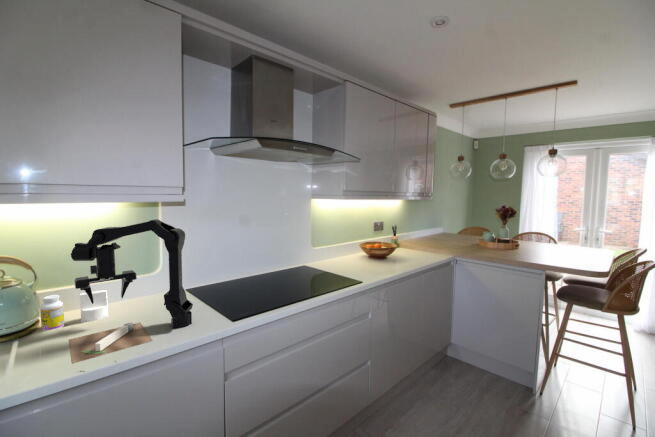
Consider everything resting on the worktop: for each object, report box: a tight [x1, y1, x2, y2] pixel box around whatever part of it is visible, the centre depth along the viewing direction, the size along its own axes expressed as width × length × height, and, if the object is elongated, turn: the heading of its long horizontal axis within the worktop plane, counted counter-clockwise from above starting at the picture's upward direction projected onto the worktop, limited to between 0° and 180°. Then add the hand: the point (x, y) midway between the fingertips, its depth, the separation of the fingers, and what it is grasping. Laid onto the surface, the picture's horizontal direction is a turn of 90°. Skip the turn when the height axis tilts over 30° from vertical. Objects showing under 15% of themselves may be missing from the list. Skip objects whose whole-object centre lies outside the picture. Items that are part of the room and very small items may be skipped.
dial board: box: [68, 321, 153, 365], centre depth 108 cm, size 22×20×2 cm
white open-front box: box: [79, 289, 109, 324], centre depth 127 cm, size 9×9×12 cm
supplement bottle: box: [39, 294, 65, 332], centre depth 118 cm, size 7×7×13 cm
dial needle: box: [95, 322, 134, 351], centre depth 108 cm, size 16×3×3 cm, turn 179°
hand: (107, 300), depth 117 cm, fingers open, 9 cm apart
